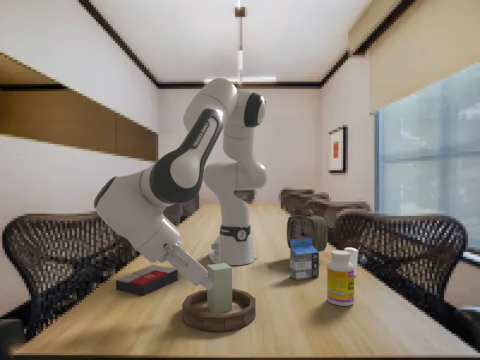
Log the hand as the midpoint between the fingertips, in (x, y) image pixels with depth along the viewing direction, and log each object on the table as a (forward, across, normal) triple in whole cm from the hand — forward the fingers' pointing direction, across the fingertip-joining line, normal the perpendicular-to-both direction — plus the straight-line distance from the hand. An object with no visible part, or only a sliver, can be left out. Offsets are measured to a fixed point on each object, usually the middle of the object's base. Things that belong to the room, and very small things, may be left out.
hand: (203, 280), depth 67 cm
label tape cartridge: (+34, +13, -22) cm, 42 cm away
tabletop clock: (+44, +30, -33) cm, 63 cm away
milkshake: (+45, +8, -33) cm, 56 cm away
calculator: (+1, +29, +12) cm, 31 cm away
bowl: (+9, +1, +3) cm, 10 cm away
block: (+8, +1, +2) cm, 9 cm away
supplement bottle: (+31, -7, -19) cm, 37 cm away
